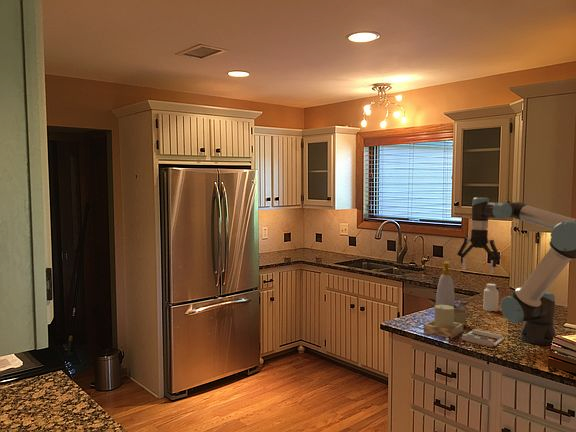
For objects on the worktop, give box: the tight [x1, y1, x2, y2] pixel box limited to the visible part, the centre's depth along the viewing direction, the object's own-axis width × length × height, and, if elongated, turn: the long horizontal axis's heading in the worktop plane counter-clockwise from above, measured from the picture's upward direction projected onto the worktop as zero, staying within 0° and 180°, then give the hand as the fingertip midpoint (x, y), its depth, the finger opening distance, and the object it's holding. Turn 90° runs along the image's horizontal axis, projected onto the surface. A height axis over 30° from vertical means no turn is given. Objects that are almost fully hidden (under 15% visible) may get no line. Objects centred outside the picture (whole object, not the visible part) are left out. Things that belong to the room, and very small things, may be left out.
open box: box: [423, 319, 464, 339], centre depth 232 cm, size 14×14×4 cm
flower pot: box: [454, 308, 468, 325], centre depth 244 cm, size 10×10×7 cm
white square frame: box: [460, 329, 505, 348], centre depth 221 cm, size 15×15×3 cm
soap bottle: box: [435, 260, 456, 308], centre depth 283 cm, size 11×12×26 cm
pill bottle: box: [482, 283, 500, 312], centre depth 274 cm, size 8×8×15 cm
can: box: [433, 304, 455, 329], centre depth 231 cm, size 9×9×12 cm
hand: (477, 271), depth 236 cm, fingers open, 13 cm apart
